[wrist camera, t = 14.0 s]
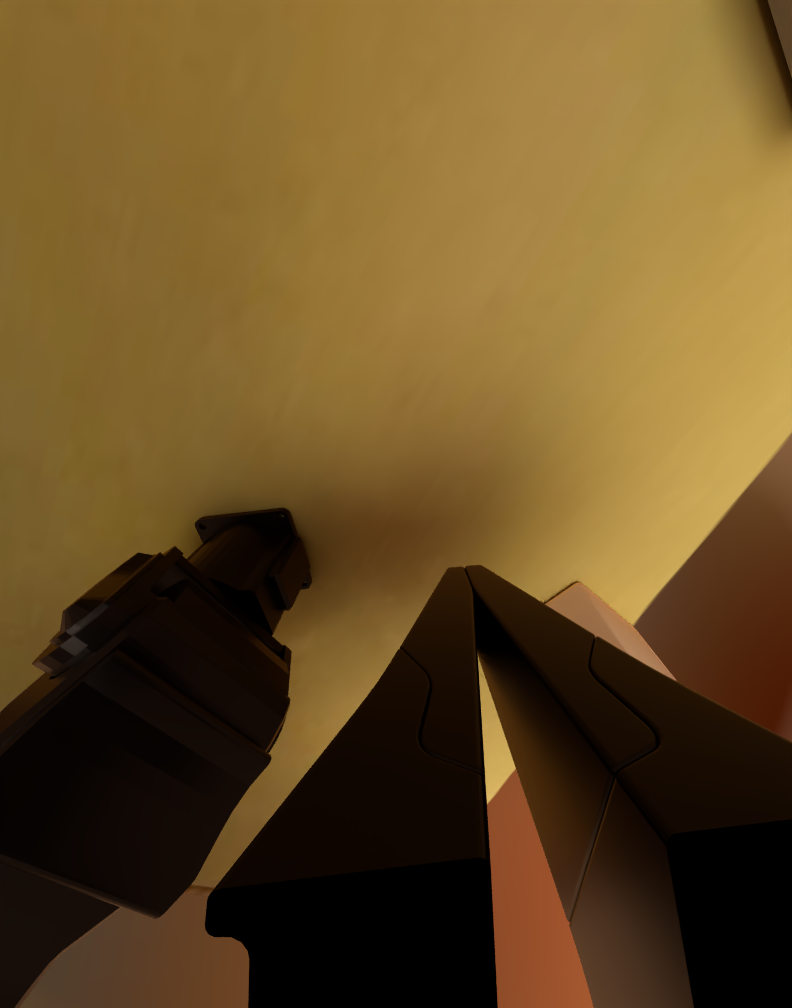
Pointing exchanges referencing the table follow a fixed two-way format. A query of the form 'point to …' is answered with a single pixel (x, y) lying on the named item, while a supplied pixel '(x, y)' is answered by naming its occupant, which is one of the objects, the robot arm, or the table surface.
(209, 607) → the robot arm
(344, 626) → the table surface
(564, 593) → the medicine bottle
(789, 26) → the tile
